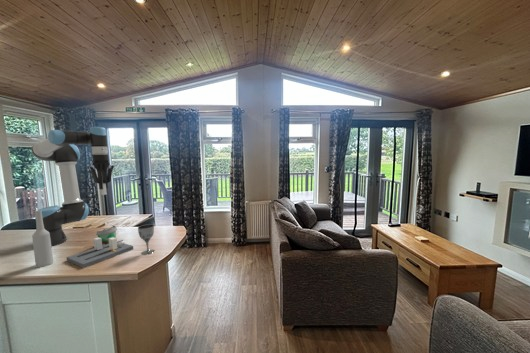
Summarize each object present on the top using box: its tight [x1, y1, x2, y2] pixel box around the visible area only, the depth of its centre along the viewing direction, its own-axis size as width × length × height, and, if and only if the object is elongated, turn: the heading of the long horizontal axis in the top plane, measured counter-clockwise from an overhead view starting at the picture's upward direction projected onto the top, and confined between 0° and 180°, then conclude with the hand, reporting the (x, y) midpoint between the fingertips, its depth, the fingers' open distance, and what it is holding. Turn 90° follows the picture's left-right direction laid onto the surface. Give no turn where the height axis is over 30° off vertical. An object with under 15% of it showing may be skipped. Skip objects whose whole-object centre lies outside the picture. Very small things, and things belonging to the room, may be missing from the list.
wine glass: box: [137, 223, 156, 256], centre depth 130 cm, size 8×8×15 cm
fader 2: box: [109, 237, 118, 250], centre depth 131 cm, size 4×2×6 cm, turn 61°
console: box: [66, 239, 134, 269], centre depth 129 cm, size 18×25×4 cm
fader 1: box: [93, 236, 103, 250], centre depth 131 cm, size 4×2×6 cm, turn 61°
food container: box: [96, 225, 118, 246], centre depth 145 cm, size 12×6×10 cm, turn 168°
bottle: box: [31, 210, 54, 268], centre depth 118 cm, size 7×7×28 cm
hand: (104, 194), depth 136 cm, fingers closed
